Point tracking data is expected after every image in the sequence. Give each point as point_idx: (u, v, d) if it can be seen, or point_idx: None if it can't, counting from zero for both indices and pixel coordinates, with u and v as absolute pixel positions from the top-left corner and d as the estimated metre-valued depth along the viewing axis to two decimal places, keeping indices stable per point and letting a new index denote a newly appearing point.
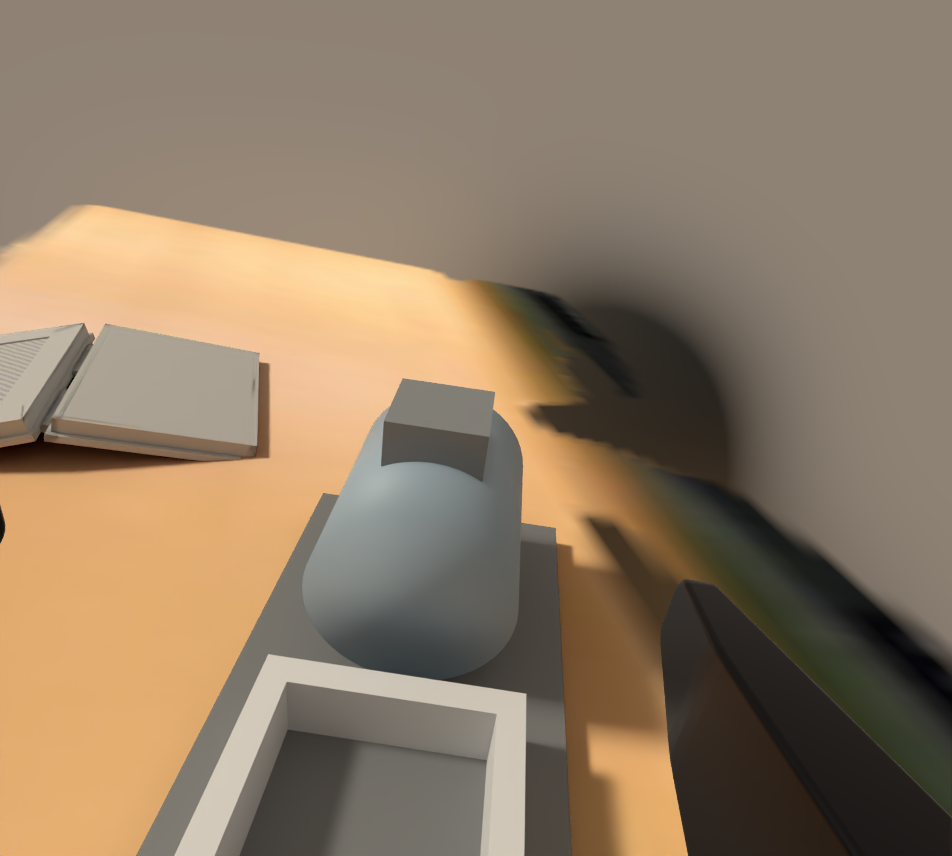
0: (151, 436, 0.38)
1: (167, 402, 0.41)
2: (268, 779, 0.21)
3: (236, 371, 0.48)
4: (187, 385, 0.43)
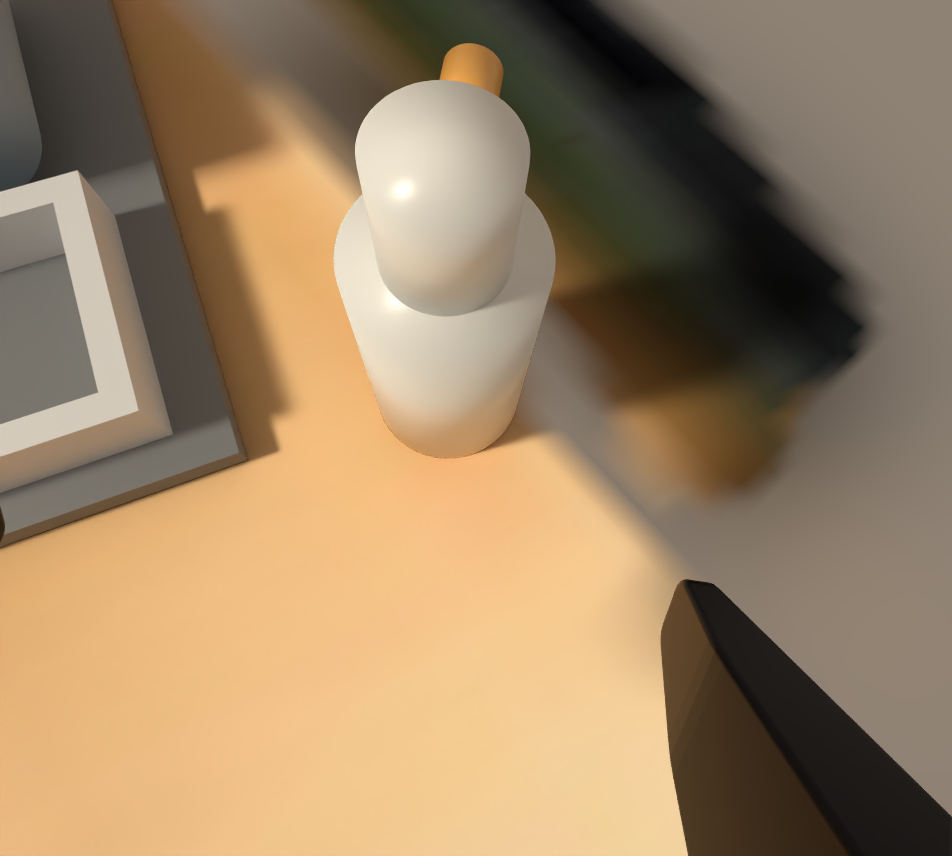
0: None
1: None
2: None
3: None
4: None
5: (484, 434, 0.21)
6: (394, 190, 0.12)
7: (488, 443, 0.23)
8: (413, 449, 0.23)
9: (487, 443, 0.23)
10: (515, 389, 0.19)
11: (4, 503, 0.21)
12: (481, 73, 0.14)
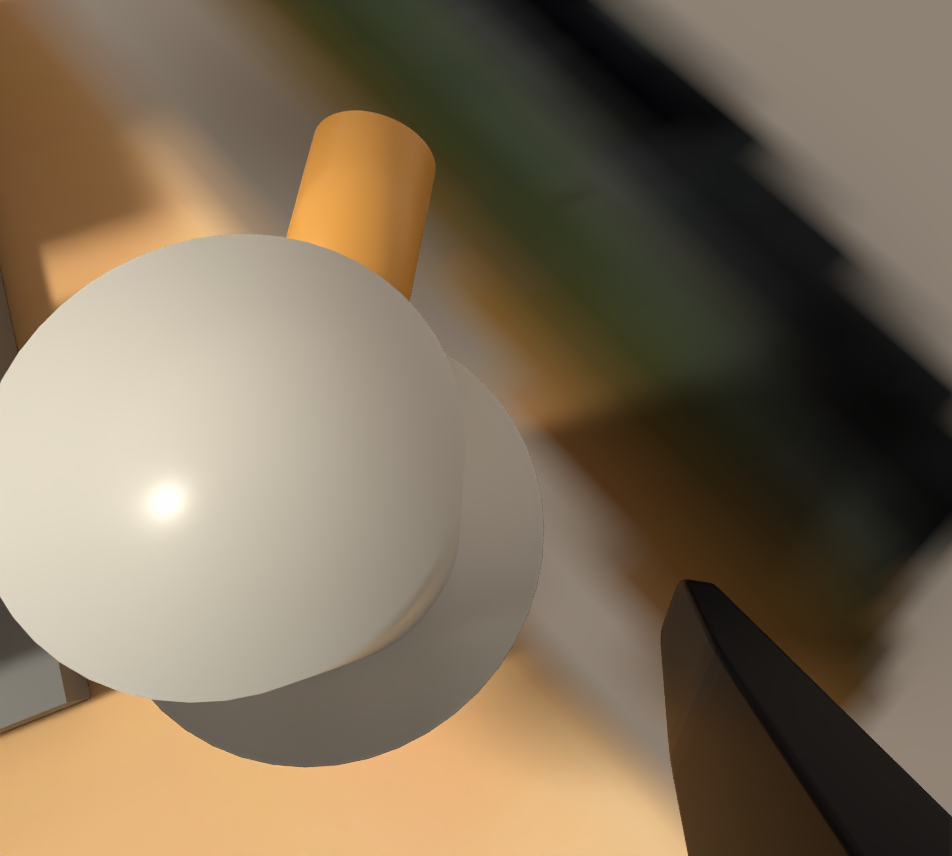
0: None
1: None
2: None
3: None
4: None
5: None
6: (68, 584, 0.04)
7: None
8: None
9: None
10: None
11: None
12: (381, 176, 0.07)
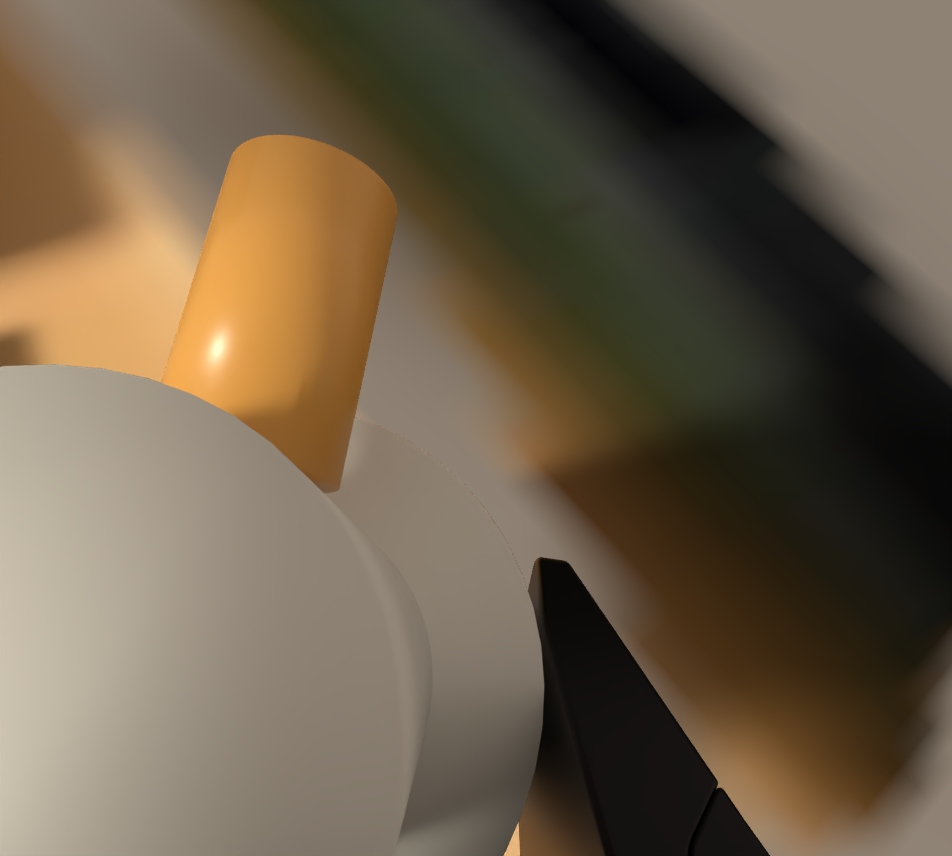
0: None
1: None
2: None
3: None
4: None
5: None
6: None
7: None
8: None
9: None
10: None
11: None
12: (313, 229, 0.05)
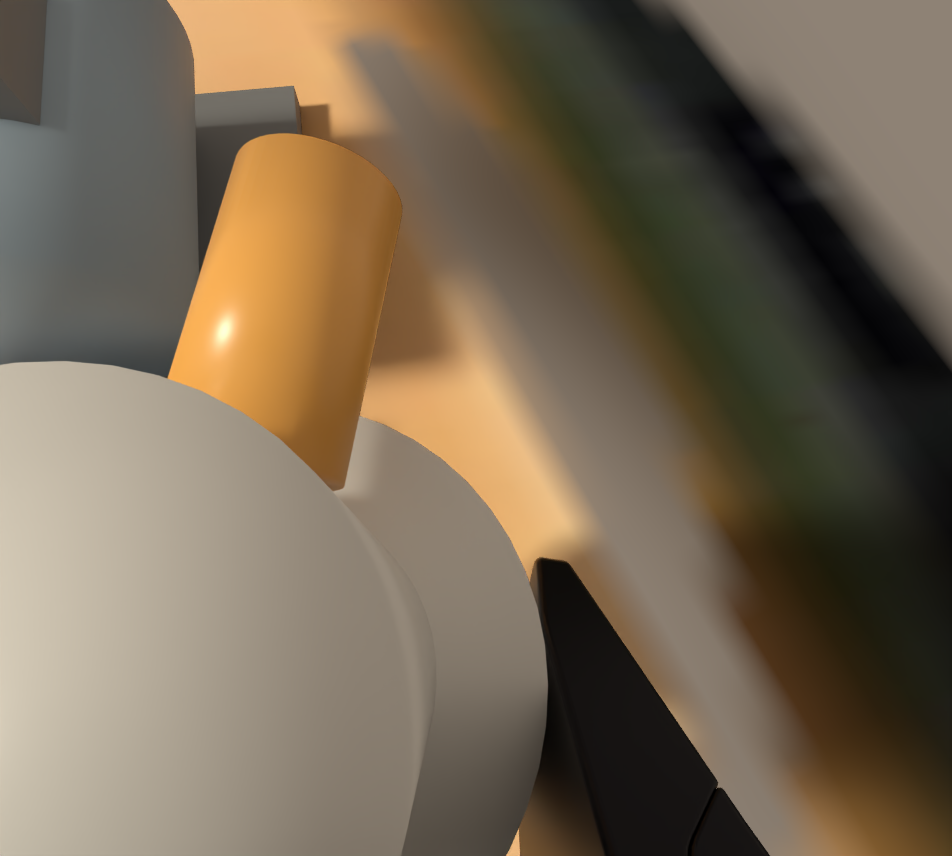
0: None
1: None
2: None
3: None
4: None
5: None
6: None
7: None
8: None
9: None
10: None
11: None
12: (319, 228, 0.05)
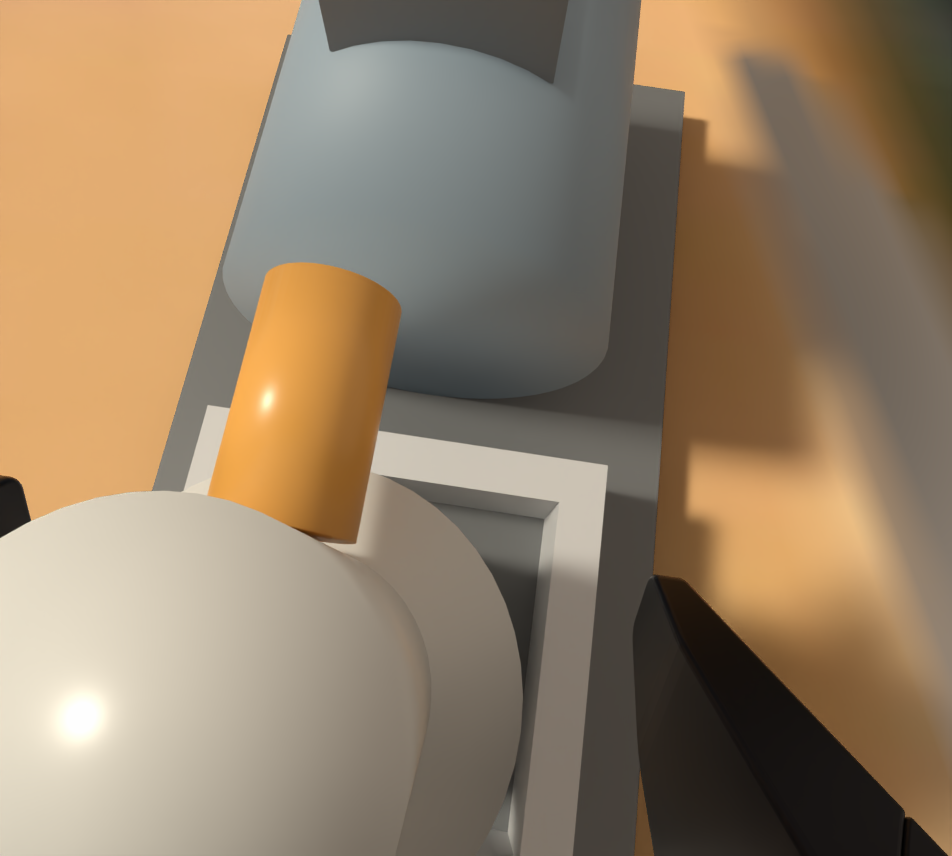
0: None
1: None
2: None
3: None
4: None
5: None
6: None
7: None
8: None
9: None
10: None
11: None
12: (335, 341, 0.06)
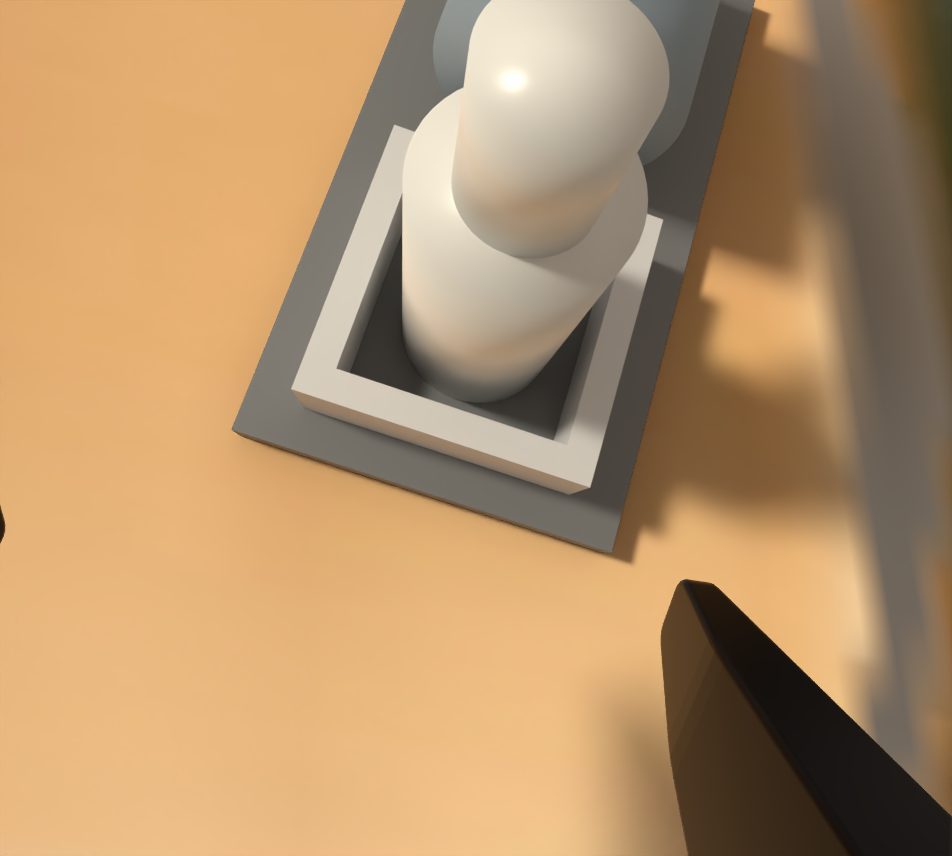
0: None
1: None
2: (395, 249, 0.22)
3: None
4: None
5: (513, 384, 0.20)
6: (508, 103, 0.10)
7: (512, 393, 0.22)
8: (433, 386, 0.22)
9: (511, 393, 0.21)
10: (560, 344, 0.18)
11: (405, 452, 0.21)
12: None
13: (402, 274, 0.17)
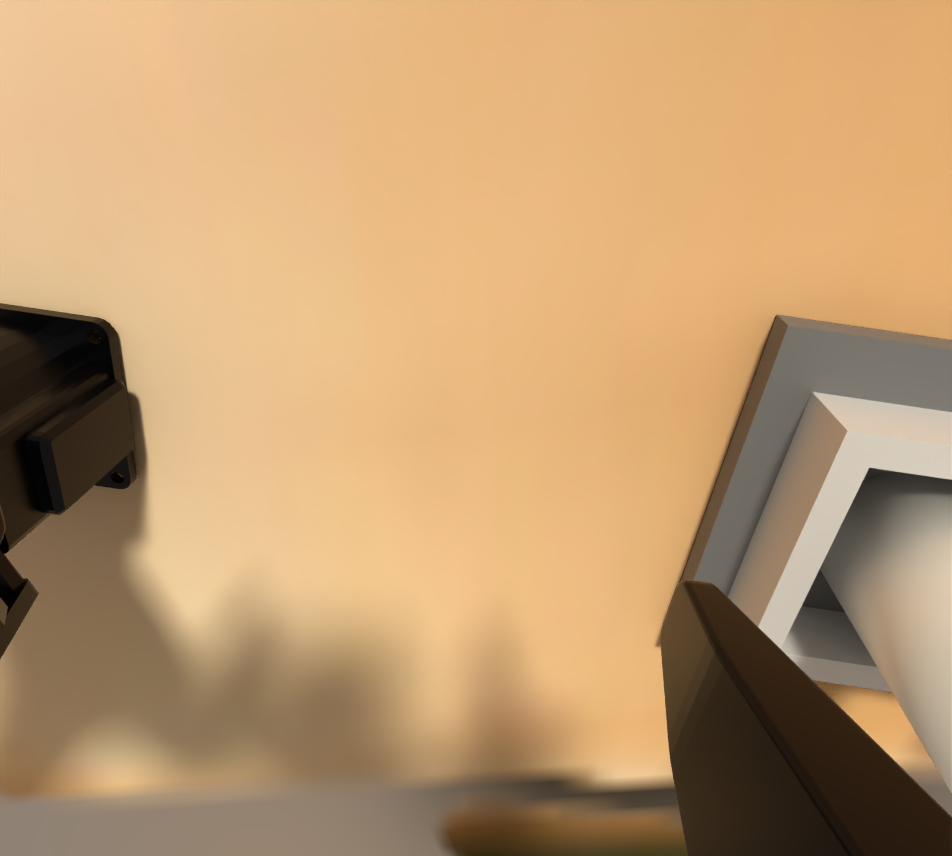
0: None
1: None
2: None
3: None
4: None
5: (839, 601, 0.21)
6: None
7: (823, 574, 0.22)
8: None
9: None
10: None
11: (760, 488, 0.21)
12: None
13: None
